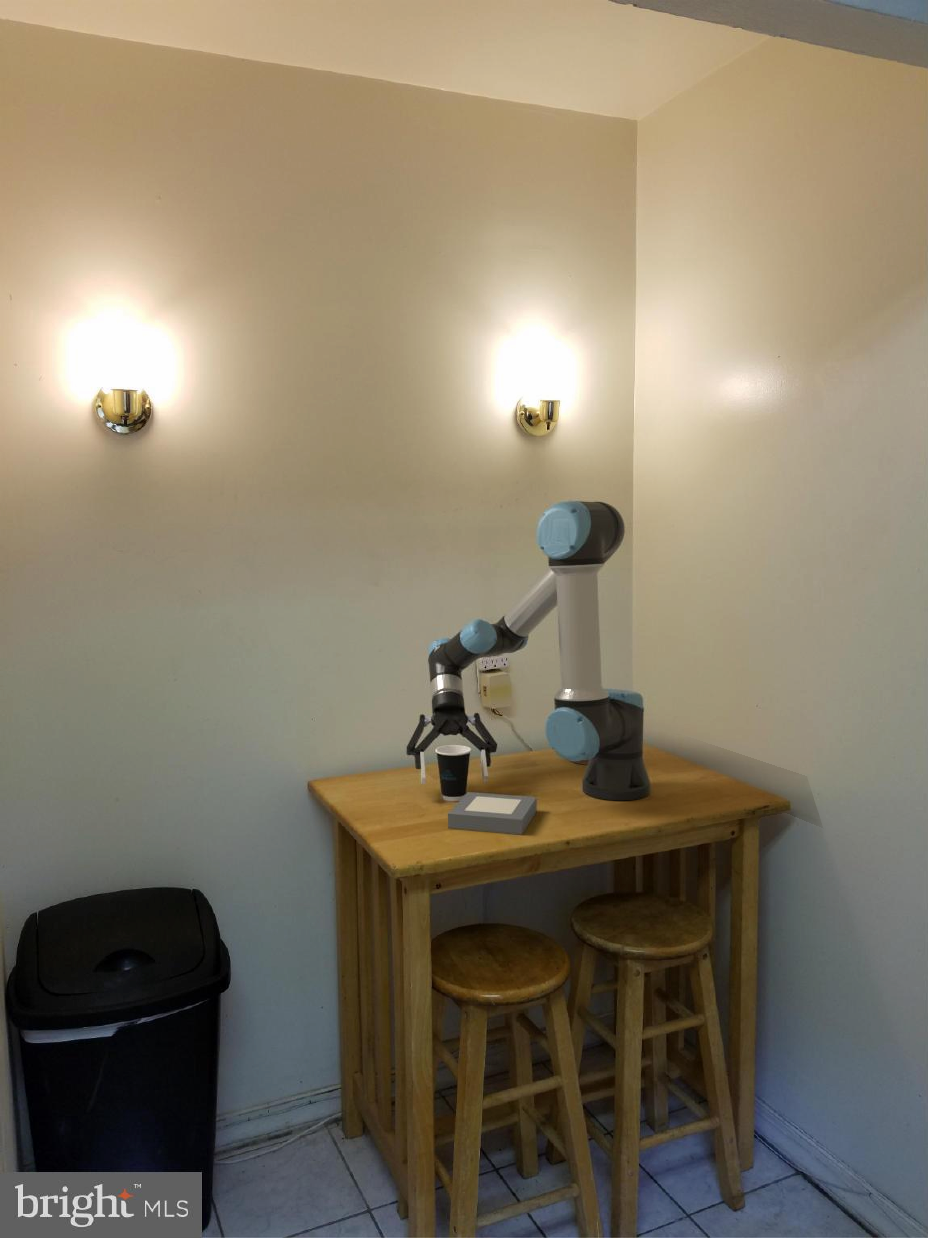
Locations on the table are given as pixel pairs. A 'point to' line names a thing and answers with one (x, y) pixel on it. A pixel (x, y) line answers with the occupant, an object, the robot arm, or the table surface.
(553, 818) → the table surface
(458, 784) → the dixie cup
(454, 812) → the plinth
